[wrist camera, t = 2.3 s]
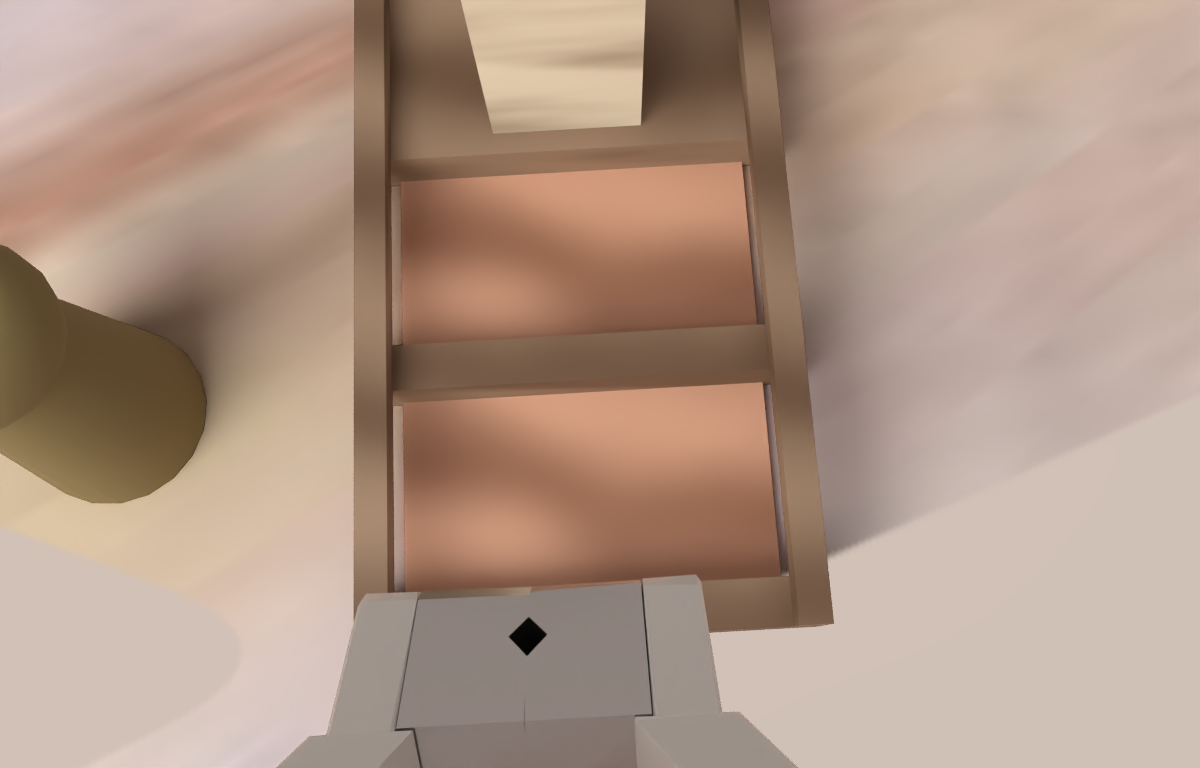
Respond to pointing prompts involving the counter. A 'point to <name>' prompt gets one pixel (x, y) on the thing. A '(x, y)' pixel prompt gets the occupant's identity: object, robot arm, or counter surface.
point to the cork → (90, 394)
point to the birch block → (558, 62)
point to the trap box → (582, 326)
